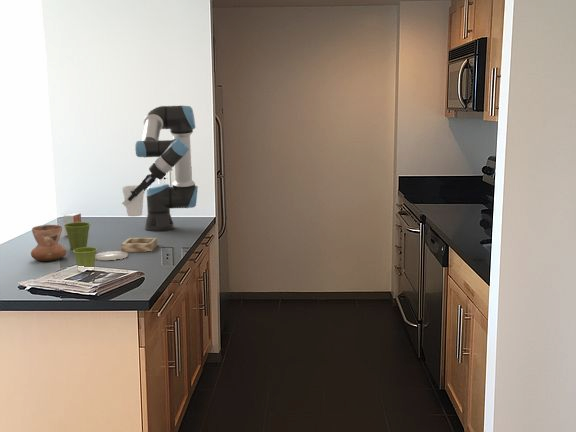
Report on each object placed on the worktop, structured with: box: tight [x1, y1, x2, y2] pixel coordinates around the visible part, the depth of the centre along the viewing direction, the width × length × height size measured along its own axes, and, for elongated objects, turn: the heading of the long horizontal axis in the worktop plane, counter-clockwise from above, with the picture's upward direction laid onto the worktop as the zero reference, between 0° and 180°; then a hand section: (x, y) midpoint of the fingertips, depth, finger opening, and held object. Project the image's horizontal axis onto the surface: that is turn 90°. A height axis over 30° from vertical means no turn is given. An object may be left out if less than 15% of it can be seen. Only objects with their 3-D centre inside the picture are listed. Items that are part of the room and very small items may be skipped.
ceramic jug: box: [30, 224, 67, 262], centre depth 290 cm, size 18×14×14 cm
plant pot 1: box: [63, 221, 91, 250], centre depth 311 cm, size 12×12×11 cm
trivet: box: [95, 250, 129, 261], centre depth 293 cm, size 14×14×1 cm
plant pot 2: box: [72, 246, 98, 268], centre depth 270 cm, size 9×9×9 cm
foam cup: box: [122, 184, 145, 217], centre depth 303 cm, size 10×9×13 cm
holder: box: [120, 237, 158, 253], centre depth 309 cm, size 13×13×4 cm
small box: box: [62, 212, 82, 237], centre depth 342 cm, size 8×6×10 cm
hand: (127, 203), depth 303 cm, fingers closed on foam cup, 9 cm apart
